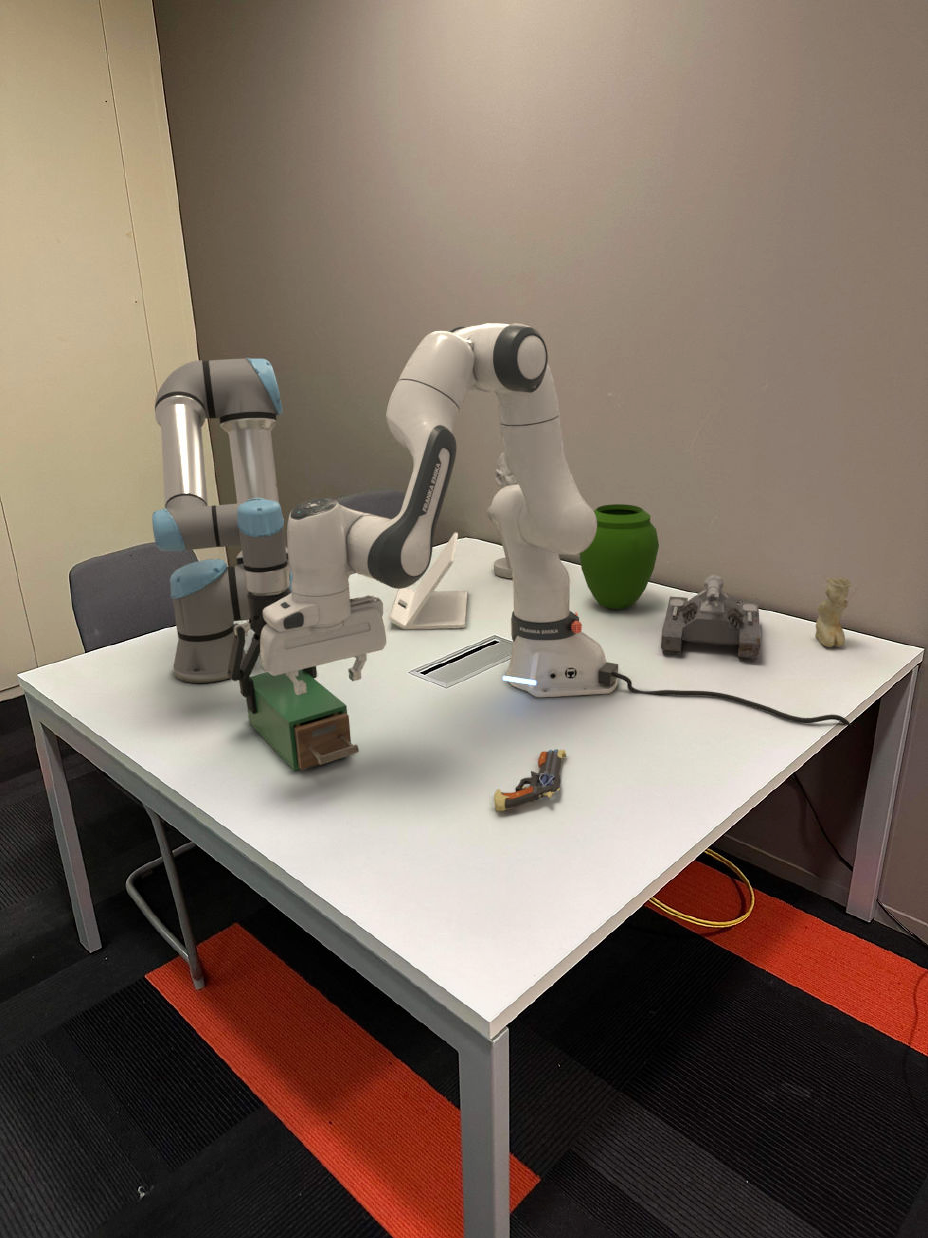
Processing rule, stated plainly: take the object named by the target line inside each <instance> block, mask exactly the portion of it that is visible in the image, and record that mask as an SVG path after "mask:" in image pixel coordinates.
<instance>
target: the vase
mask: <svg viewBox="0 0 928 1238" xmlns="http://www.w3.org/2000/svg"><path fill="white" fill-rule="evenodd" d="M593 511H594V513H595V516H596V519H597V531H596V535H595V537H594V540H593V541H592V543H591V544H590V546H589V547H588V548H587V549H586V550H584V551H583V552H581V553H578V554H579V562H580V569H581V571H582V574H583V577H584V580H585V583H586V585H587V588H588V590H589V591H590V594H592V597H593V598H594V600H595V601H596V602H597V603H598V604H599V605H600V606H602V607H604V608H606V609H609V610H625V609H628V608H630V607H632V606H634V604H636V602H638V601H639V599H640V597H641V596H642V595H643V593H644V592H645V590H646V588H647V586H648V584H649V581H650V579H651V577H652V574H653V572H654V570H655V566H656V562H657V557H658V552H659V548H660V544H659V543H660V542H659V537H658V531H657V528H656V527H655V526H654V524H653V523H652V522H651V515H650V514H649V512H647V511H645V510H644V509H643V508H642V507H641V506H638V505H633V504H622V503H621V504H619V503H616V504H615V503H614V504H604V505H601V506H598V507H597V508H595V509H594V510H593Z"/></svg>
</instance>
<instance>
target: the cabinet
mask: <svg viewBox="0 0 928 1238" xmlns="http://www.w3.org/2000/svg"><path fill="white" fill-rule="evenodd" d="M295 677H296V679H297V680H298V681H300V680H302V681H304V682H305V683H306V687H307V688H306V690H307V693H305V694H302V695H297V694H296V693H295V691H294V683H293V682H292V681H291V680H290V678H289V677H288V676H287V675H286V673H284V674H280V675H276V676H273V675H271V674H270V673H268V672H267V671H266V672H263V673H258V674H255V675H250V678H251V679H252V680H253V684H254V692H255V700H256V708H257V713H256V714H253V713H252V712H251V711H250V710H249V709H248V705H247V704H246V706H247V716H248V722H249V724H250V725H251V726H252V728H254V729H255V731H256V732H257V733H258V734H259V735H260V736H261V737H262V738H263V739H264V740H265V742H267V744H268V745H269V746H270V747H271V748H272V749H273V751H275V752H276V754H278V756H280V758H281V759H282V760H283V761H284V762H285V763H286V764H287V765H288V766H289V767H290V769H292V771H294V772H295V771H299V770H301V769H300V768H299V765H298V759H297V750H296V741H295V732H294V725H297V724H300V723H303V722H307V721H310V720H314V719H317V718H320V717H324V716H327V715H330V714H334V713H337V712H338V715H340V714H343V713H347V714H348V709H347V708H348V707H347V704H345V703H344V702H343V701H342V700H340V698H338V697H337V696H336V695H334V694H333V692H331V691H330V690H329V689H327V688H326V687H325V686H324V685H322V684H321V683H320V682H319V681H318V680H316V678H313V677H311V676H310V675H309V674H308V673H307V672H305V671H304V670H303V669H301V670H298V676H295ZM245 699H246V702H247V697H245Z"/></svg>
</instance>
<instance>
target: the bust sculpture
mask: <svg viewBox="0 0 928 1238" xmlns="http://www.w3.org/2000/svg"><path fill="white" fill-rule="evenodd" d="M494 480H495V482H496V484H497V486H498V487H501V489H502V488H504V487H506V486H509V485H519V484H518V482H517V480H516V478H515V476H514V475H513V474H512V472H511V471H510V470H509V469H508V467H507V465H506V462H505V457H504V451H502V452H501V454H500V455H499V457H498V459H497V461H496V468H495V471H494ZM485 514H486V517H487V518H488V519H489V520H490V522H491V523H492V524H493V526H494V527H495V529H496V532H497V534H498V537H499V540H500V542H501V546H502V548H503V553H504V557H502V558H498V559H496V560H495V561H494V562H493V573H494V574H495V575H496V576H497V577H500V578H506V579H513V576H512V570H511V566H510V562H509V558H508V554H507V551H506V547H505V544H504V541H503V538H502V536H501V534H500V532H499V530H498V528H497V527H496V525H495V524H494V522H493V520H492V517H491V505H490V506H488V508H487V509H486V513H485Z"/></svg>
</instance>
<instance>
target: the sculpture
mask: <svg viewBox="0 0 928 1238" xmlns="http://www.w3.org/2000/svg"><path fill="white" fill-rule="evenodd" d="M826 581H827V586H826V588H825V590H824V593H825V595H826V596H827V598H826V600H824V601H822V602H821V603H820V604H819V605H818V606H817V609H816V610H817V612H818V614H819V616H818V617H817V619H816V623H815V630H816V631H815V634H814V635H815V639H817V640H819V642H820V643H821V644H822V645H823V646H825V647H827V648H832V647H834V646H835V647H843V646H844V645H845V643H846V642H845V641H846V636H845V632H844V630H843V626H842V624H841V622H840V621H841V617H842V615H843V612H844V610H845V609H846V608H847V606H848V604H849V603H848V602H849V601H847V598H848V597H849V592H850V586H851V585H852V582H850V580H848V579H847V578H845V577H841V576H840V577H835V578H831V577H827V578H826Z"/></svg>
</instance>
